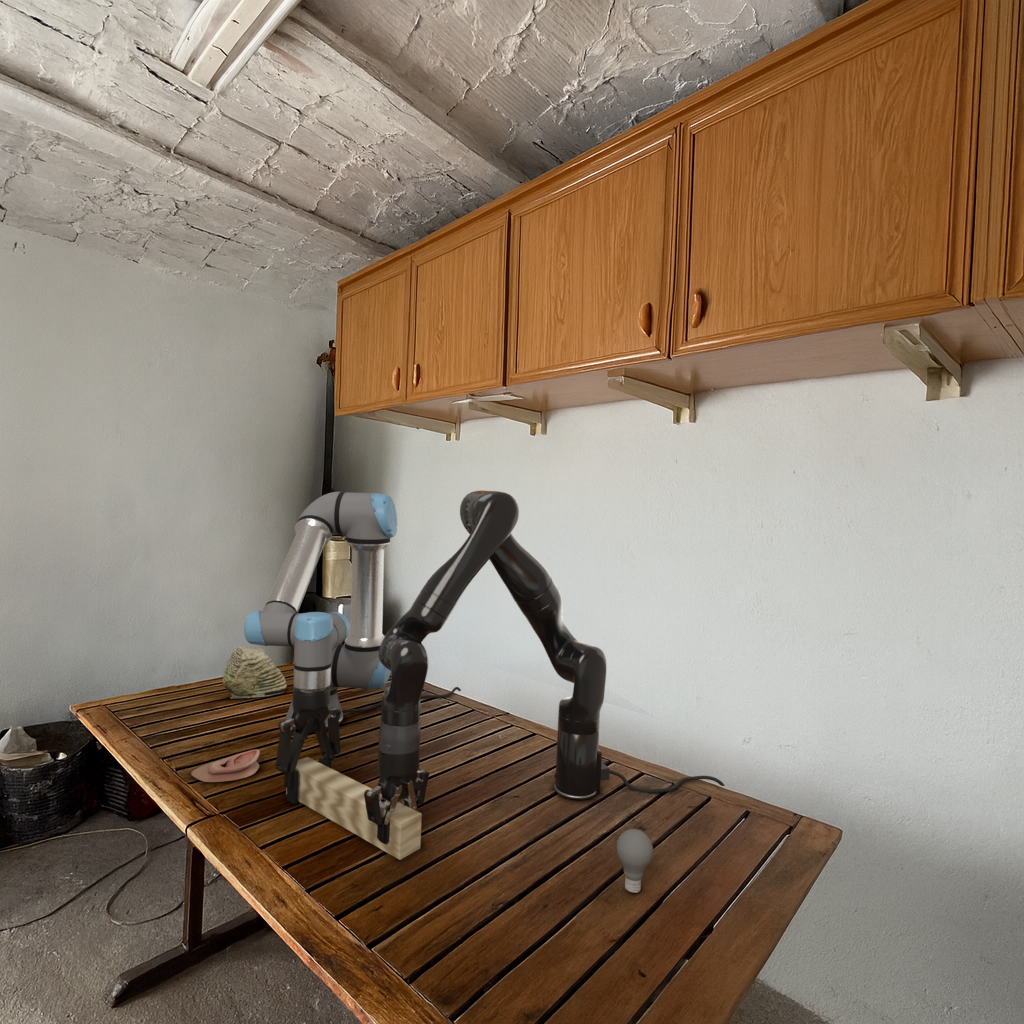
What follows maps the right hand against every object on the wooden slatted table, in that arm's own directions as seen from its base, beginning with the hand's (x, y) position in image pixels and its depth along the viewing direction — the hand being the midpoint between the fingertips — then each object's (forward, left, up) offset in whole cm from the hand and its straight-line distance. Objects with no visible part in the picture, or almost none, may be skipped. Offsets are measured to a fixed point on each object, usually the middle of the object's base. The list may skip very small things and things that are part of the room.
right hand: (395, 835), depth 116 cm
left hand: (+14, -24, -2) cm, 28 cm away
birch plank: (+7, -12, -2) cm, 14 cm away
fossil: (+25, -98, -2) cm, 101 cm away
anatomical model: (+31, -41, -2) cm, 51 cm away
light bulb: (-35, +25, -2) cm, 43 cm away
